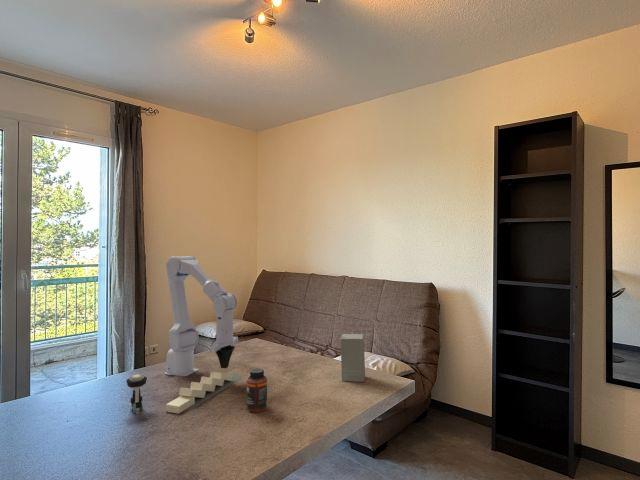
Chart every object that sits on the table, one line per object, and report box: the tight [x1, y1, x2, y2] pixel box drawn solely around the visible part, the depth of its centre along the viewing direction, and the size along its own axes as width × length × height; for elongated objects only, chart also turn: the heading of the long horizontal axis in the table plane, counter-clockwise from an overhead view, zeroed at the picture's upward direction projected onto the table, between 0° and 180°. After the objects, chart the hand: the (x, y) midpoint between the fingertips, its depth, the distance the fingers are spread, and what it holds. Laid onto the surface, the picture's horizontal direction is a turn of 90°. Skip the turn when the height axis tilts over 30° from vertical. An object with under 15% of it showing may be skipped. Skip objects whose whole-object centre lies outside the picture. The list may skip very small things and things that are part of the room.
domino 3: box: [189, 381, 215, 392], centre depth 117 cm, size 4×2×7 cm
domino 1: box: [165, 395, 195, 414], centre depth 107 cm, size 4×2×7 cm
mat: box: [186, 372, 245, 411], centre depth 120 cm, size 8×30×1 cm, turn 161°
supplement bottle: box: [246, 367, 268, 413], centre depth 107 cm, size 6×6×11 cm
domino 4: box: [199, 375, 224, 386], centre depth 121 cm, size 4×2×7 cm
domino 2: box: [178, 387, 206, 398], centre depth 112 cm, size 4×2×7 cm
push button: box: [126, 373, 148, 415], centre depth 105 cm, size 7×5×10 cm
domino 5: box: [209, 371, 232, 381], centre depth 126 cm, size 4×2×7 cm
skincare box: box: [339, 333, 366, 383], centre depth 132 cm, size 8×7×16 cm
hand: (224, 367), depth 128 cm, fingers closed
